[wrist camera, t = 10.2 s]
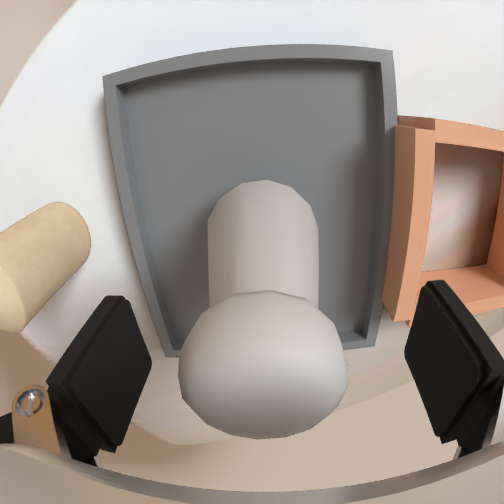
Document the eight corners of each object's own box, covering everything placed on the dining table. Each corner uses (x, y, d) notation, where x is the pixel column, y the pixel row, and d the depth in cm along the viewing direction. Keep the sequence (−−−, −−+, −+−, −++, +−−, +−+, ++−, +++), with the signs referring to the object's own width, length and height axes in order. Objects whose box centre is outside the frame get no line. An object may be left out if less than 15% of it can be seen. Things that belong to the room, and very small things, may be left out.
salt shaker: (277, 277, 20) (290, 472, 8) (198, 236, 18) (118, 420, 7) (328, 203, 17) (432, 371, 6) (244, 153, 16) (196, 261, 4)
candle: (53, 270, 21) (-18, 345, 12) (30, 210, 19) (-58, 269, 10) (101, 262, 20) (28, 350, 11) (77, 192, 18) (-22, 256, 9)
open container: (512, 134, 15) (552, 145, 11) (491, 275, 20) (519, 303, 16) (380, 114, 15) (415, 116, 11) (371, 290, 21) (392, 329, 17)
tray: (379, 56, 14) (392, 50, 12) (367, 329, 22) (374, 346, 21) (117, 78, 15) (102, 76, 13) (171, 340, 23) (165, 356, 22)
